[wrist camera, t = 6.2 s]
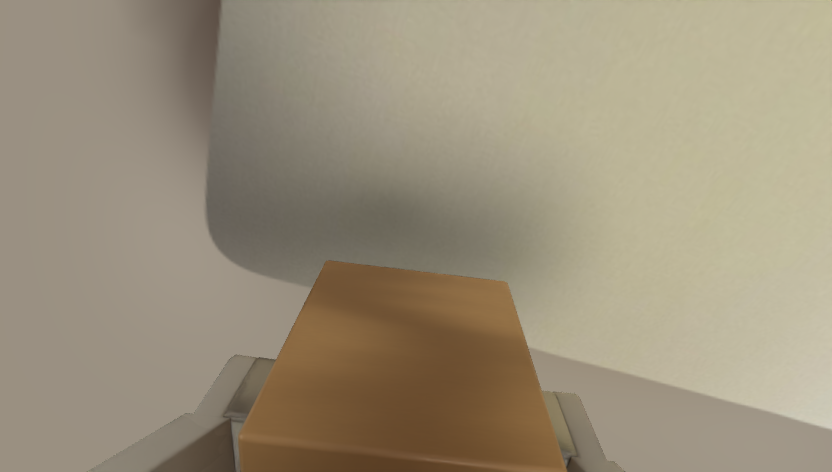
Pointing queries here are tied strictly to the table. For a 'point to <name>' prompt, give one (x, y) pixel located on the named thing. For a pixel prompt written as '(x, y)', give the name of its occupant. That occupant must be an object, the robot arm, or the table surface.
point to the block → (401, 381)
